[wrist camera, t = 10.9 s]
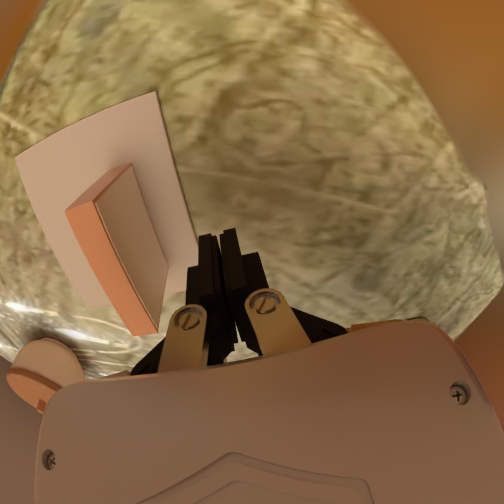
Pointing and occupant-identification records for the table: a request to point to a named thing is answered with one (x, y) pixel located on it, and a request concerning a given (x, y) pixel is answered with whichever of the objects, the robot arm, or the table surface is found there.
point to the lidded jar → (43, 371)
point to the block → (122, 247)
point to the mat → (96, 165)
